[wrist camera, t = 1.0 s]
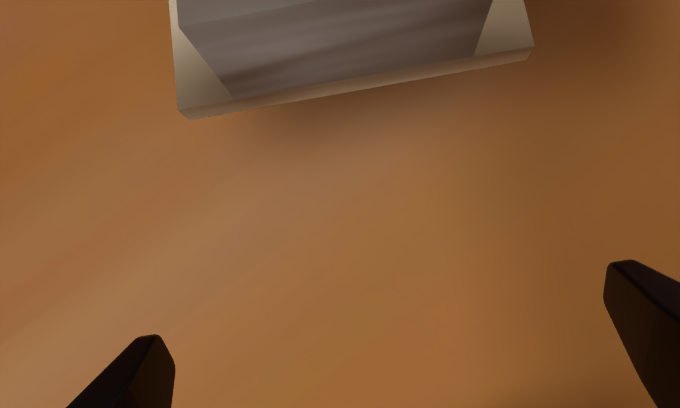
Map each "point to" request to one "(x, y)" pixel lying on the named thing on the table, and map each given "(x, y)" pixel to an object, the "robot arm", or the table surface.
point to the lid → (331, 47)
